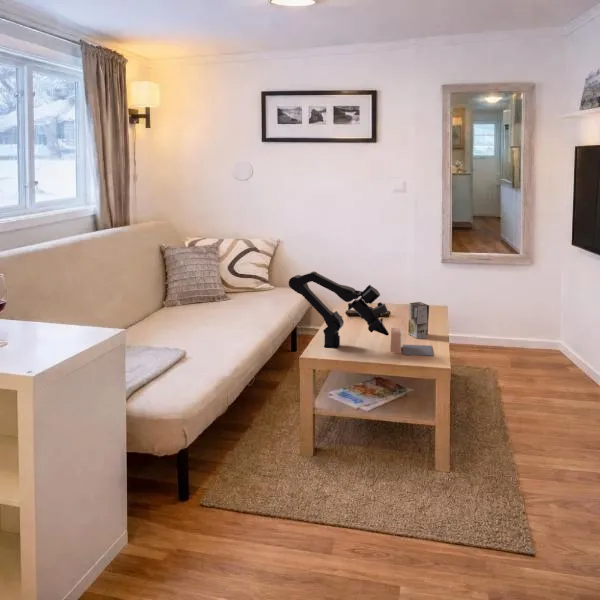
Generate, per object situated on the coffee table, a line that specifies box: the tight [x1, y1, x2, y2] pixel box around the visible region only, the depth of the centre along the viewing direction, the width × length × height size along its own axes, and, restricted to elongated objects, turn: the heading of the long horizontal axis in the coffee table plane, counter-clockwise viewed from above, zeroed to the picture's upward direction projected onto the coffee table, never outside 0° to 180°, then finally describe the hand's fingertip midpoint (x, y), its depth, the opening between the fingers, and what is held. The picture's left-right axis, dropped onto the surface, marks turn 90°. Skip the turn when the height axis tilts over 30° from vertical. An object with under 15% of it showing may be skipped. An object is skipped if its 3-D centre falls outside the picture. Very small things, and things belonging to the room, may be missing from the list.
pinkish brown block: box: [390, 327, 402, 354], centre depth 293 cm, size 4×10×9 cm, turn 172°
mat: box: [402, 344, 434, 357], centre depth 292 cm, size 13×16×1 cm
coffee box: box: [407, 301, 430, 340], centre depth 316 cm, size 9×6×16 cm
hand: (388, 334), depth 292 cm, fingers closed
